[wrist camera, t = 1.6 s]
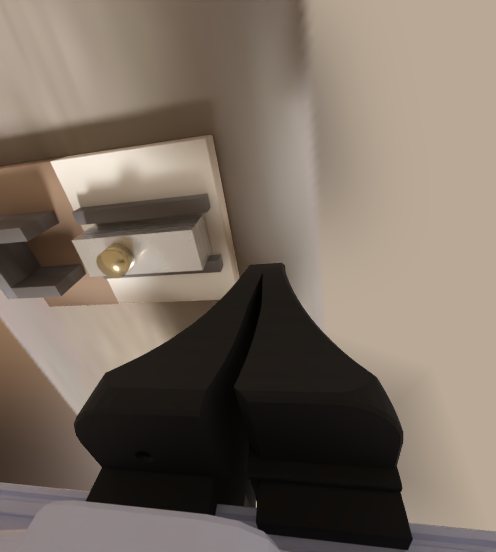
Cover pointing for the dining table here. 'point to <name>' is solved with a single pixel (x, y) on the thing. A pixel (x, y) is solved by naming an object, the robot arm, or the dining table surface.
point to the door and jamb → (111, 221)
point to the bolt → (145, 246)
